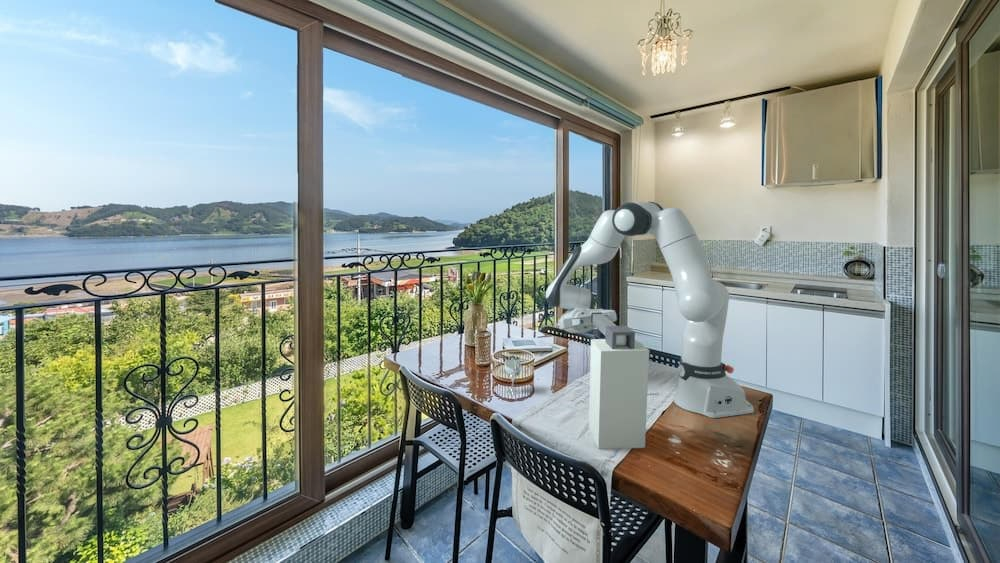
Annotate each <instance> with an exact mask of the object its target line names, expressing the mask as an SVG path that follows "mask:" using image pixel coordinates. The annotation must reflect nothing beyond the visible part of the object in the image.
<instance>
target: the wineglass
mask: <svg viewBox="0 0 1000 563" xmlns="http://www.w3.org/2000/svg"><path fill="white" fill-rule="evenodd" d="M504 359H505V360H504V365H503V367H504V368H503V370H504V373H505V375H507V376H508V377H511V379H510V380H511V388H509V389H507V390H505V391H506V394H508V395H517V394H519V393H520V390H519V389H517V388H514V382H515V377H517V376H519V375H520V373H522V372H521V371H522V363H521V359H520V357H519V356H516V355H509V356H506V357H505V358H504Z"/></svg>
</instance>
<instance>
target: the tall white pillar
mask: <svg viewBox="0 0 1000 563" xmlns="http://www.w3.org/2000/svg"><path fill="white" fill-rule="evenodd" d="M617 335H627V346H616V336H617ZM604 337H605V338H597V339H596V338H594V339H593V338H591V339H590V357H589V358H590V364H589V366H590V367H589V404H588V406H589V407H588V408H589V409H588V411H589V412H588V430H589V432H590V435H591V436H592V439H593V441H594V443H595V444H596V447H597V449H598V450H606V449H607V450H609V449H610V448H616V449H644V448H646V431H647V414H648V413H647V410H648V409H647V407H648V389H649V388H648V387H649V386H648V385H649V368H650V367H649V363H650V349H648V348H647V347H646V346H645V345H643V344H642V343H641V342H640V341H638V339H636V338H635V337H636V331H634V330H633V329H632V328H631V327H629V326H628V325H616V326H606V333H605V335H604Z"/></svg>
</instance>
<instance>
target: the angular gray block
mask: <svg viewBox="0 0 1000 563" xmlns="http://www.w3.org/2000/svg"><path fill="white" fill-rule="evenodd" d="M591 323H593V324H594V325H595V326H596V327H597V328H596V329H597V330H598V331H600V333H601V334H603V335H604V336H605V333H606V326H617V325H616V324H615V323H614V322H612V321H610V320H609V319H608V318H607V317H606V316H604V315H603V314H602V313H601V312H597V313H591ZM616 346H627V335H617V336H616Z"/></svg>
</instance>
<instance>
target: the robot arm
mask: <svg viewBox="0 0 1000 563" xmlns="http://www.w3.org/2000/svg"><path fill="white" fill-rule="evenodd" d="M648 234H650V235H651V236H653V237H654V238H655V240H656V242H657V245H658V247H659V249H660V251H661V254H662V256H663V259H664V260H665V262H666V265H667V267H668V269H669V272H670V274H671V278H672V282H673V288H674V291H675V294H676V298H677V304H678V305H677V306H678V310H679V313H680V314H681V315H682V317H683V318H685V319H686V320H685V324H684V329H683V332H682V342H681V356H680V358H679V364H678V376H679V378H678V383H677V386H676V390H675V393H674V395H673V400H672V401H673V402H674V404H675V405H676V406H678V407H680V408H681V409H683V410H685V411H688V412H691V413H692V412H693V413H695V414H696V413H697V414H700V415H704V416H706V417H707V418H712V419H717V418H725V417H734V416H739V415H741V416H742V415H749V414H754V413H755V409H754V406H753V405H752V404H751V403H750V402H749V401H748V400H747V399H746V393H745V390H744V389H743V387H742V386H741V385H740V384H739V383H737V382H736V381H735V380H734V379H733V378H732V377H730V376H729V375H727V373H728V374H733V373H734V372H735V369H734V367H733V366H731V365H729V364H725V363H724V362H722V353H723V352H722V351H723V341H724V333H725V328H726V323H727V322H726V321H727V316H728V310H729V301H730V293H729V291H728V288H727V286H725V284H723V283H721V282H720V281H717V280H714V278H713V276H712V272H711V269H710V265H709V261H708V260H709V259H708V257H707V254H706V252H705V250H704V248H703V246H702V244H701V242H700V239H699V238H698V235H697V233H696V230H695V228H694V227H693V225H692V224H691V222H690V221H689V219H688V217H687V216H686V215H685V213H684V212H683V210H681V209H680V208H677V207H667V208H663V207H662V206H661V205H660V204H659V203H658V202H654V201H642V200H639V201H632V202H626V203H623V204H621V205H619V206H618V207H617V208H616V209H608V210H605V211H603V212H602V213H601V214H600V216H599V218H598V219H597V221H596V223H595V225H594V226H593V229H592V230H591V233H590V235H589V236H588V239H586V241H584V243H582V244H581V245H579V246H576V247H574V249H573V250H572V251H571V252H570V254H569V255H568V256H567V258H566V260H565V262H564V263H563V265H562V266H561V268H560V269H559V271H558V272H557V274H556V276H554V279H552V281H551V282H550V283H549V285H548V287H547V288H546V291H545V296H544V297H545V300H546V302H547V303H548V305H549V306H550V307H552V308H553V307H554V308H561V309H564V310H566V311H565V312H564V313H563V314H561V316H560V318H558V320H557V322H558V323H555V324H554V326H555V327H558V328H559V330H563V331H565V332H568V333H571V334H572V333H573V334H582V333H583V334H585V333H588V332H590V331H592V330H594V329H598V328H597V327H596V326H595V325H594V324H593V323H591V313H597V312H601V313H602V314H603V315H604V316H606V317H607V318H608V319H609V320H610V321H612V322H613V323H614V322H617V320H618V317H617V313H616V310H614V309H603V308H595V302H596V301H595V296H594V293H593V292H592V290H591V289H589V288H585V287H582V286H577V285H573V284H570V283H568V281H570V279H571V277H572V275H573V274H574V272H575V271H576V270H577V269H578V268H580V267H584V266H590V265H591V266H593V265H602V264H606V263H608V262H610V261H612V260H613V259H614V257H616V254H617V253H618V251H619V248H620V246H621V244H622V242H623V240H624V238H625V236H626V237H627V236H628V237H634V236H645V235H648ZM726 372H727V373H726Z"/></svg>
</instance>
